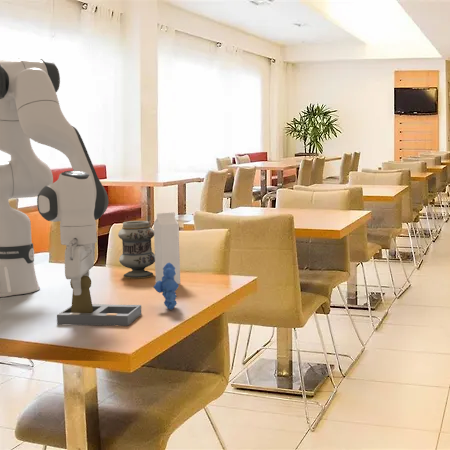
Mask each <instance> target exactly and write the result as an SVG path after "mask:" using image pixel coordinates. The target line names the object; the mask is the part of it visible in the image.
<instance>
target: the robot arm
mask: <svg viewBox="0 0 450 450" xmlns="http://www.w3.org/2000/svg"><path fill="white" fill-rule="evenodd" d="M60 84H61V77H60V71H59V69H58V67H57V65H56V64H55V62H53V61H50V60H48V59H42V58H41V59H33V58H16V59H15V58H14V59H12V58H10V59H2V60H1V59H0V151H1V152H3V153H6V154H8V155H10V160H9V161H0V298H4V297H10V296H15V295H17V296H18V295H23V294H30V293H33V292H37V291H39V290H40V286H39V282H38V279H37V275H36V274H37V273H36V270H35V263H34V262H35V249H34V248H35V247H34V243H33V242H32V239H33V238H32V224H31V219H30V217H29V215H27V214H26V213H25V212H23V211H21V210H19V209H16V208H14V207H11V205H10V202H9V201H10V200H11V199H23V198H24V199H25V198H26V199H27V198H34V197H37V198H36V204H37V210H38V211H37V212H38V213H39V215H40V216H41V217H42V218H43V220H44V219H45V220H46V221H48V222H53V223H55V222H59V223H60V224H59V232H60V234H59V235H60V244H61V245H63V246H65V247H66V248H65V249H64V275H65V279H66V280H70V281H71V283H72V286H73V289H72V295H73V294H74V295H80V294H81V293H82V287H81V277H82V276H83V275H84V276H88V277H90V270H91V269H92V268H93V267H94V264H95V257H96V255H95V253H96V243H97V242H98V233H97V222H96V221H98V220H99V219H100V218H101V217H102V216H103V215H104V214H105V213H106V211H107V209H108V207H109V196H108V193H107V190H106V189H105V187H104V185H103V184H102V182H101V180H100V179H99V177H98V176H99V175H97V171H96V169H95V166H94V164H93V162H92V160H91V156H90V155H89V152H88V149H87V148H86V145H85V143H84V140H83V138H82V136H81V134H80V132H79V131H78V129H77V127H75V126H73V125H72V124H71V123H70V122H69V121H68V120H67V118H66V117H65V115H64V113H63V111H62V109H61V106H60V105H61V104H60V103H59V102H60V101H59V99H58V95H57V92H58V91H59V88H60ZM31 140H32V141H34V142H36V143H37V144H41V145H44V146H48V147H50V148H53V149H54V150H57V151H59V152H61V153H62V154H63V155H64V156H66V158H67V159H68V161H69V163H70V166H71V168H72V170H67V171H62V172H61V173H60V174H59V175H58V179H57V180H56V181H54V175H53V170H51V167H50V166H49V165H48V164H46V163H45V162H44V161H42V160H41V159H40V157H38V156H37V154H36V153H35V151H34V150H33V147H32V144H31Z"/></svg>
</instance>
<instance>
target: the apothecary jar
mask: <svg viewBox="0 0 450 450" xmlns="http://www.w3.org/2000/svg"><path fill="white" fill-rule="evenodd" d="M149 222H150V221H147V220H133V221H130V220H129V221H124V222H122V228H120V230H119V231H118V234H117V235H118V238H119V239H120V240H122V241H121V243H122V254H121V255H120V256H119V259H118V262H119V263H120V265H121V266H123V267H125V268H127V269H131V271H127V272H126V273H124V274H123V275H122V276H123V278H125V279H130V278H131V279H134V280H136V279H147V278H151V277H153V276H154V273H153V272H152V271H148V270H146V268H148V267H150V266H152V265H153V264H155V252H153V250H152V249H153V248H152V239H153V238H154V228H152V227H151V226H150V223H149Z"/></svg>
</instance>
